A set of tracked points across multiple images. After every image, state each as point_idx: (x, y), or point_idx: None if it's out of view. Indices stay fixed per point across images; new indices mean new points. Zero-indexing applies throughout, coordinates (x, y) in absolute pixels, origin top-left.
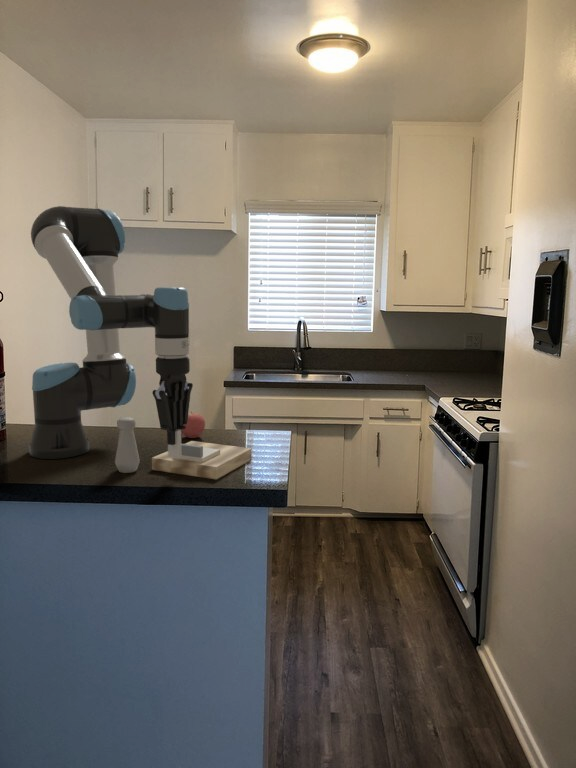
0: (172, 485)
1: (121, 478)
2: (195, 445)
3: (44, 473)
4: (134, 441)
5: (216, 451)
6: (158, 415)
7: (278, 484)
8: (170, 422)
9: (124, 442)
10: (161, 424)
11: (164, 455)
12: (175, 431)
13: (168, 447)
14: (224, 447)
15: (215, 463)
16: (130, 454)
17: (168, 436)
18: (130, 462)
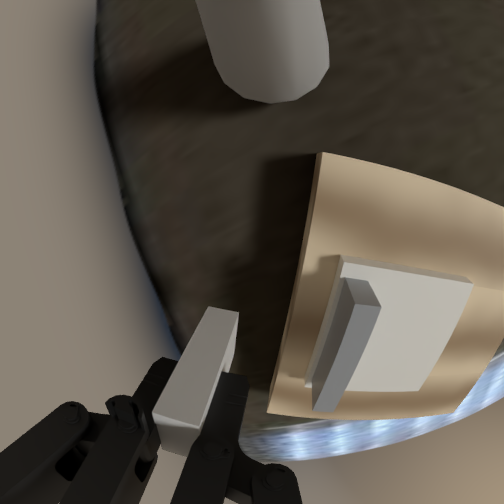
0: (178, 300)
1: (179, 100)
2: (343, 389)
3: None
4: (270, 48)
5: (396, 391)
6: (3, 452)
7: (274, 459)
8: (78, 469)
9: (203, 19)
10: (48, 425)
11: (377, 197)
12: (162, 440)
13: (191, 338)
14: (476, 360)
15: (302, 404)
16: (230, 72)
17: (139, 394)
18: (230, 86)
